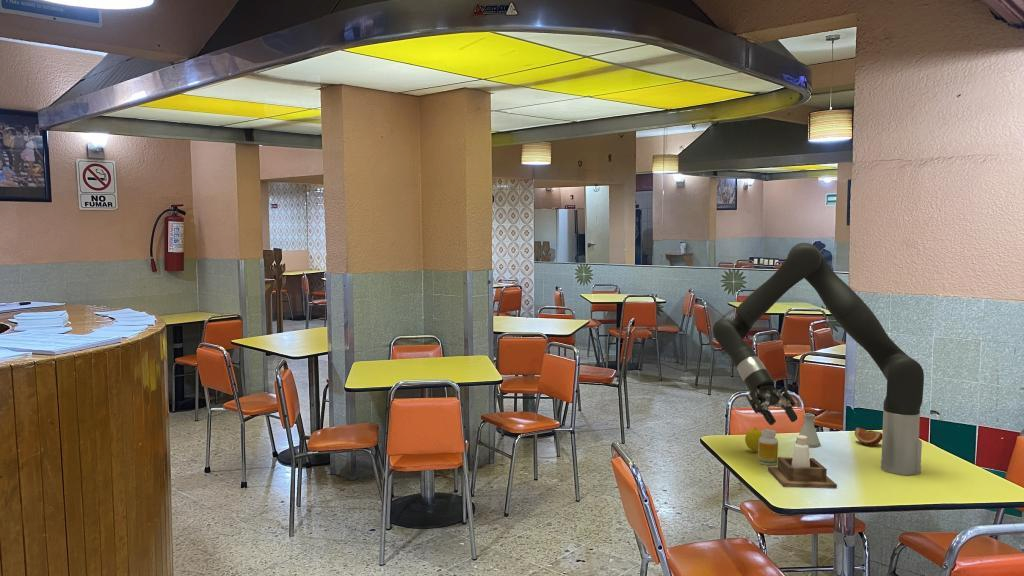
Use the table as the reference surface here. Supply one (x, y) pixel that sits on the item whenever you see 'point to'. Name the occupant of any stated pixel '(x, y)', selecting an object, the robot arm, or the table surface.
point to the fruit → (753, 439)
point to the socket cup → (801, 474)
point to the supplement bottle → (768, 448)
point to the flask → (809, 431)
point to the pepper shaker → (801, 453)
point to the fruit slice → (868, 436)
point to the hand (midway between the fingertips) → (784, 422)
